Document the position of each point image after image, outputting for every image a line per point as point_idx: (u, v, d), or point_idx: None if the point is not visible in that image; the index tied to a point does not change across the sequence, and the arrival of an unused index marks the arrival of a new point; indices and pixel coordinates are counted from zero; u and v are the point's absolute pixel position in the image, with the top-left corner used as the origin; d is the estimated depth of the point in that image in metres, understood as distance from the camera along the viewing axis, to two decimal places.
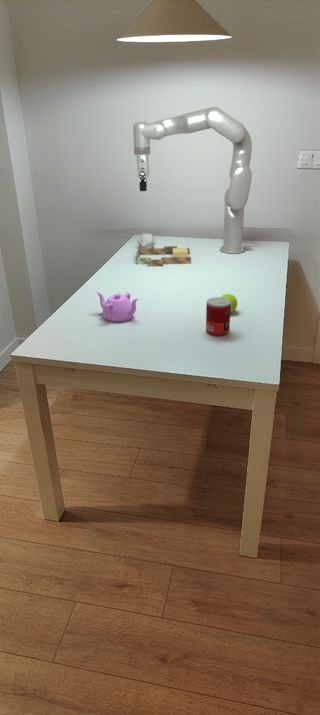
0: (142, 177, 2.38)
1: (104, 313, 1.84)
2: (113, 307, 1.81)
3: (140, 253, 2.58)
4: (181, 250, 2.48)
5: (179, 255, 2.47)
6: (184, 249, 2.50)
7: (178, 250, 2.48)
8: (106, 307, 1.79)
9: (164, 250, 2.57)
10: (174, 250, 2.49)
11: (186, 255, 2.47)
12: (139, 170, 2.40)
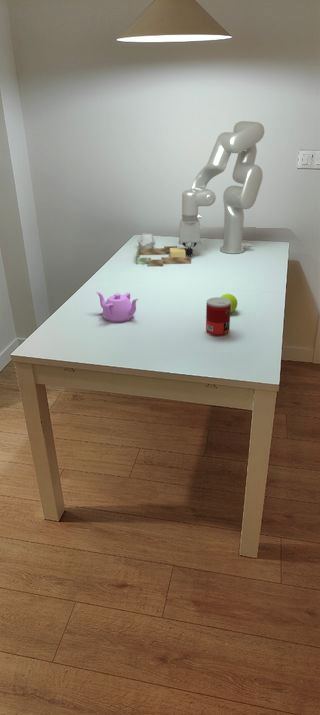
0: None
1: (104, 313, 1.84)
2: (113, 307, 1.81)
3: (140, 253, 2.58)
4: (178, 250, 2.49)
5: (177, 255, 2.47)
6: (181, 249, 2.50)
7: (175, 250, 2.49)
8: (106, 307, 1.79)
9: (164, 250, 2.57)
10: (171, 250, 2.49)
11: (184, 254, 2.47)
12: None
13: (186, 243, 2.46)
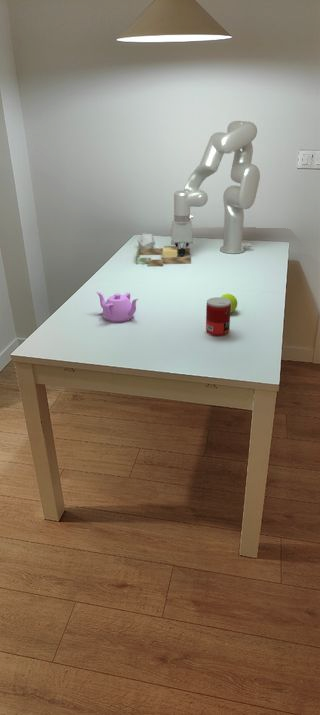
0: None
1: (104, 313, 1.84)
2: (113, 307, 1.81)
3: (140, 253, 2.58)
4: (171, 249, 2.50)
5: (169, 254, 2.48)
6: (174, 248, 2.51)
7: (168, 249, 2.50)
8: (106, 307, 1.79)
9: None
10: (164, 249, 2.50)
11: (176, 254, 2.48)
12: None
13: (178, 243, 2.46)
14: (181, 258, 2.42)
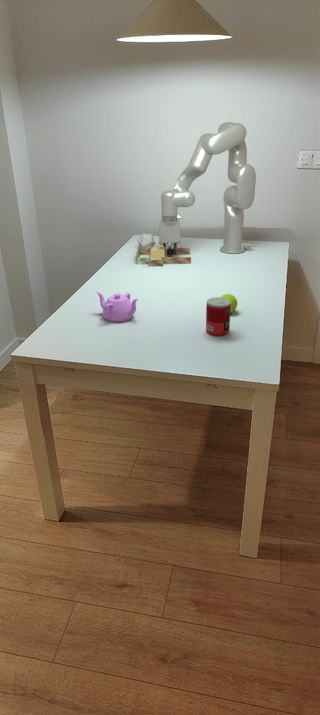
0: None
1: (104, 313, 1.84)
2: (113, 307, 1.81)
3: (140, 253, 2.58)
4: (160, 248, 2.51)
5: (156, 253, 2.50)
6: (163, 247, 2.52)
7: (157, 248, 2.52)
8: (106, 307, 1.79)
9: None
10: (153, 248, 2.52)
11: (163, 253, 2.49)
12: None
13: (166, 244, 2.46)
14: (181, 258, 2.42)
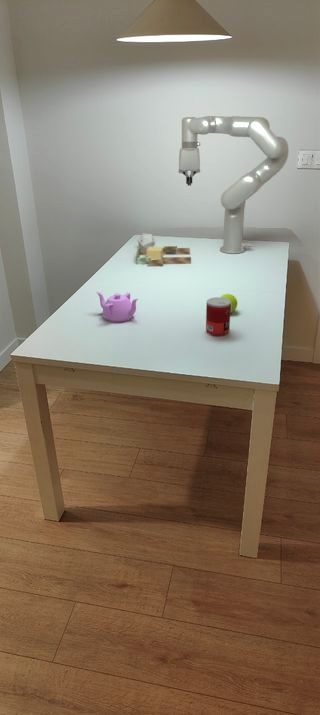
0: None
1: (104, 313, 1.84)
2: (113, 307, 1.81)
3: (140, 253, 2.58)
4: (156, 249, 2.51)
5: (152, 253, 2.50)
6: (159, 248, 2.53)
7: (153, 248, 2.52)
8: (106, 307, 1.79)
9: (164, 250, 2.57)
10: (149, 248, 2.52)
11: (159, 254, 2.49)
12: None
13: (186, 171, 2.51)
14: (181, 258, 2.42)
